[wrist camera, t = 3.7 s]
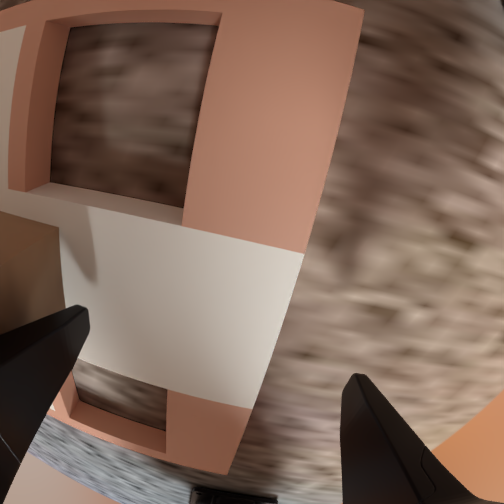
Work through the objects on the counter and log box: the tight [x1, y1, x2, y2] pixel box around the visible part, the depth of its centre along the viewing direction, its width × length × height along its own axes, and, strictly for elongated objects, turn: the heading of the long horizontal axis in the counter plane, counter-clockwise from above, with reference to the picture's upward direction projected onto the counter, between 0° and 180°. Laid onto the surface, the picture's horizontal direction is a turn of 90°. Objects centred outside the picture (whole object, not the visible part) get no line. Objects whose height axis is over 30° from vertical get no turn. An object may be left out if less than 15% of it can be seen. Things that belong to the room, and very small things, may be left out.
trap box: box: [0, 0, 365, 475], centre depth 10 cm, size 21×17×4 cm
